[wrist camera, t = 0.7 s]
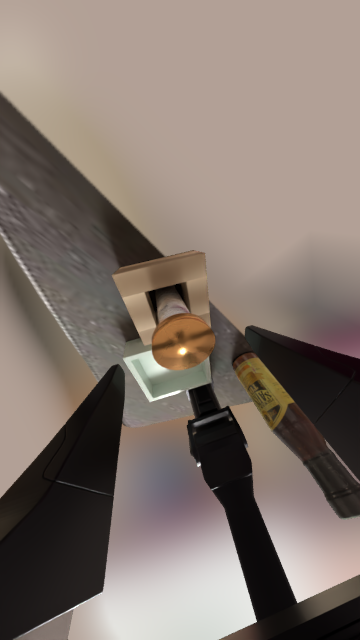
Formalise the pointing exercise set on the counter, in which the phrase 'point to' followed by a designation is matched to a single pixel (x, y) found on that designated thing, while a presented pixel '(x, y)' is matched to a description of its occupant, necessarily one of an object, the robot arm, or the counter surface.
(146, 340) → the block
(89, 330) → the counter surface
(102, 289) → the counter surface
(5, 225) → the counter surface
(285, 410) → the sauce bottle
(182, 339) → the orange-capped jar
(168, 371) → the sage tray
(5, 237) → the counter surface
